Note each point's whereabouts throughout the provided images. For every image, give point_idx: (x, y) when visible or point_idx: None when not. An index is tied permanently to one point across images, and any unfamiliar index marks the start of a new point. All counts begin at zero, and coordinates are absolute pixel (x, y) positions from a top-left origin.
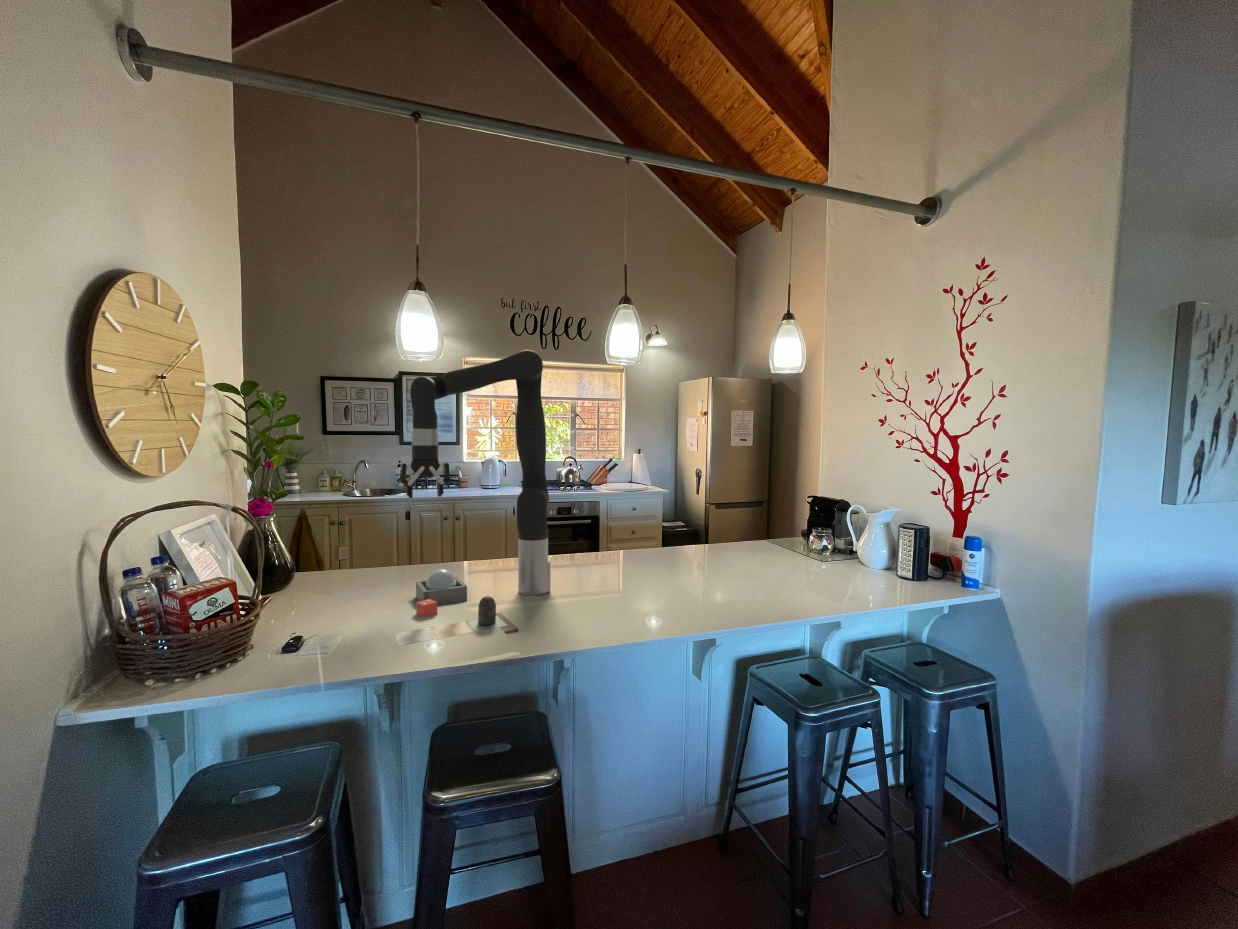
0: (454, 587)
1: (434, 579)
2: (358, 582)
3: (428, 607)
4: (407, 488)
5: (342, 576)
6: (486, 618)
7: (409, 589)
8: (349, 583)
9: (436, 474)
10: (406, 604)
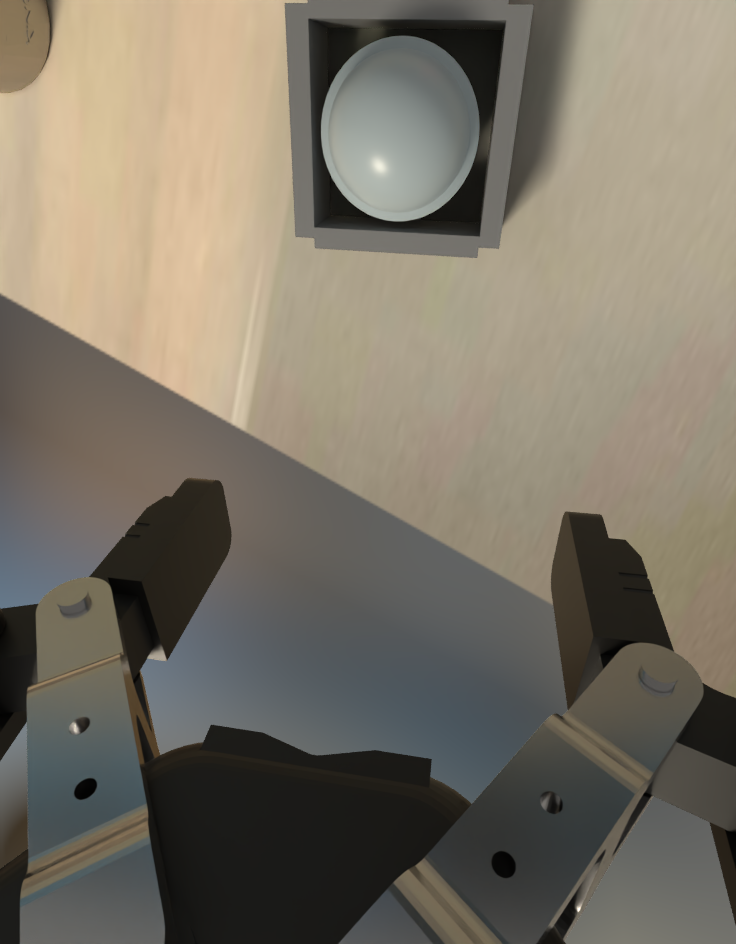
0: (355, 4)
1: (446, 82)
2: None
3: None
4: (663, 625)
5: None
6: None
7: (482, 367)
8: None
9: (73, 737)
10: (572, 139)
